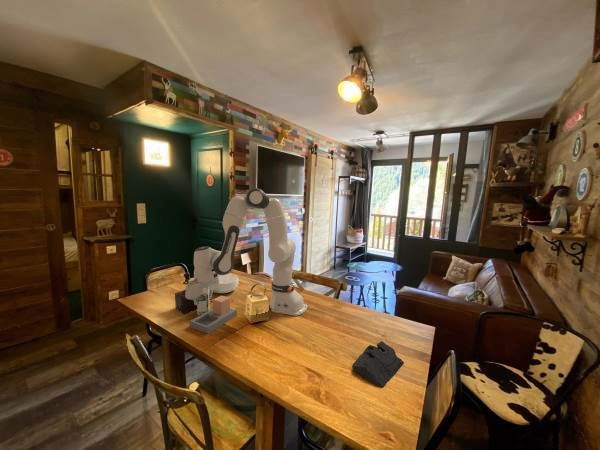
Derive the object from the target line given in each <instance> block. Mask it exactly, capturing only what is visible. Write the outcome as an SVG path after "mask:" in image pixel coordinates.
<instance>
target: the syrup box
mask: <svg viewBox="0 0 600 450" xmlns="http://www.w3.org/2000/svg"><path fill="white" fill-rule="evenodd" d="M197 301H199V304H197V310H196V311H197V312H196V314H197V316H200V314H201V315H202V314H204V313H206V312H208V311H210V299H209V286H208V287H205V288H203V289H202V295H201V296H198V297H197Z"/></svg>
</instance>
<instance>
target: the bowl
mask: <svg viewBox="0 0 600 450" xmlns="http://www.w3.org/2000/svg"><path fill="white" fill-rule="evenodd" d="M218 278H219V287H218V288H216V289H214V290H213V293H215V294H227V293H231V292H233V290H235V289H237V287H238V286H239V276H238V275H236V274H233V273H228V274H226V275H219V276H218Z"/></svg>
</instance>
